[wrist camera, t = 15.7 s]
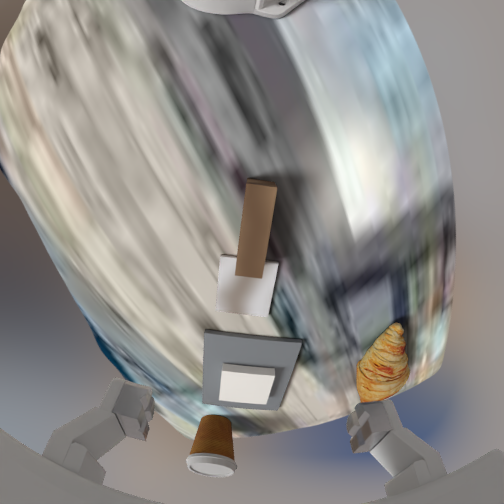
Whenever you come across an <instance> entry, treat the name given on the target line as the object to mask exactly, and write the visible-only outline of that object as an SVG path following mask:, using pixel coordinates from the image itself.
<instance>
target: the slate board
mask: <svg viewBox="0 0 504 504" xmlns="http://www.w3.org/2000/svg"><path fill="white" fill-rule="evenodd" d="M301 345H302V340H301V339H288V338H275V337H265V336H255V335H245V334H237V333H228V332H221V331H213V330H206V329H205V332H204V355H203V398H202V403H203V404H210V405H217V406H226V407H235V408H245V409H259V410H278V409H279V406H280V403H281V401H282V398H283V396H284V393H285V390H286V388H287V385H288V382H289V379H290V377H291V374H292V371H293V368H294V365H295V363H296V360H297V357H298V354H299V351H300V348H301ZM223 363H225V364H233V365H242V366H252V367H263V368H275V378H274V381H273V384H272V388H271V391H270V394H269V397H268V400H267V403H266V404H251V403H240V402H230V401H222V400H219V394H220V384H221V373H222V365H223Z"/></svg>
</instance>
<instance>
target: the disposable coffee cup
mask: <svg viewBox="0 0 504 504" xmlns="http://www.w3.org/2000/svg"><path fill="white" fill-rule="evenodd" d="M233 451H234V450H233V439H232V428H231V421H230V420H229V419H227V418H225V417H223V416H219V415H207V416H204V417H202V419H201V421H200V425H199V428H198V431H197V434H196V437H195V440H194V443H193V446H192V449H191V452H190V455H189V456H188V458H187V459H186V463H187V467H188V469H189V470H190V471H192V472H194V473H197V474H200V475H204V476H209V477H227V476H231V475H233V474H234V472H235V470H236V469H237V465H236V463H235V461H234V452H233Z"/></svg>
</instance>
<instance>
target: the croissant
mask: <svg viewBox="0 0 504 504" xmlns="http://www.w3.org/2000/svg"><path fill="white" fill-rule="evenodd" d="M403 332H404V330H403V329H402V326H401V324H400V323H397V322H396V323H394V324H392V325H390V326H389V328H387V329H386V330H385V331H384V332H383V333H382V334H381V335H380V336H379V337H378V338H377V339H376V341H375V342H374V343H373V345H372V346H371V347H370V348H369V349H368V350H367V352H366V354H365V355H364V357H363V358H362V360H360V361H359V362H358V363H357V379H356V381H357V390H358V393H359V396H360V400H361V403H363V402H372V401H382V400H384V399H387V398H388V397H390V396H392V395H394V394H395V393H397V392H398V391H399V390H400V389H401V388H402V387H403V385H404V384H405V383H406V381H407V379H408V377H409V374H410V369H409V367H408V363H407V362H408V357H407V354H406V353H405V346H406V343H405V341H404V337H403V336H402V334H403Z"/></svg>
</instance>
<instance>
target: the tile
mask: <svg viewBox="0 0 504 504" xmlns="http://www.w3.org/2000/svg"><path fill="white" fill-rule="evenodd" d="M274 378H275V368H263V367H252V366H242V365H233V364H225V363H223V365H222V373H221V384H220V394H219V400H222V401H230V402H240V403H251V404H266V403H267V400H268V397H269V394H270V391H271V388H272V384H273V381H274Z"/></svg>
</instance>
